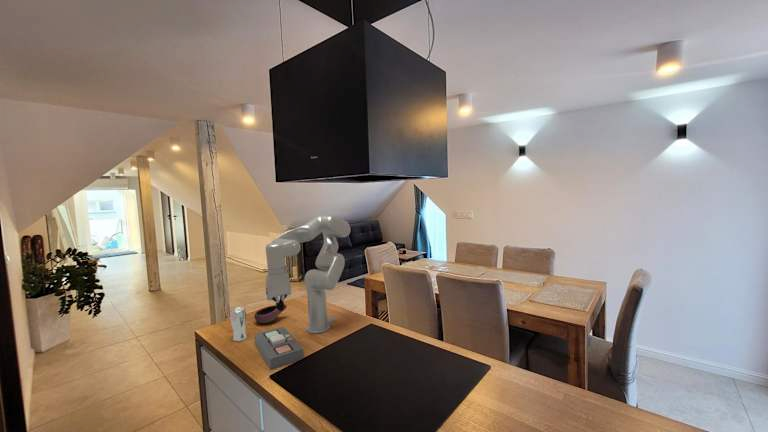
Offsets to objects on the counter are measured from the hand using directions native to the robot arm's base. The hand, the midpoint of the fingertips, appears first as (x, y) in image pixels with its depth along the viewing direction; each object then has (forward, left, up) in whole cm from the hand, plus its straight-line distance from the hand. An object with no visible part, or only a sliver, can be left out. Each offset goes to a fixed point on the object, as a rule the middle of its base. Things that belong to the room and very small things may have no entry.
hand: (280, 309), depth 143 cm
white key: (+2, -2, -17) cm, 17 cm away
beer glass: (+14, -26, -20) cm, 35 cm away
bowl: (-4, -39, -20) cm, 44 cm away
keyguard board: (+2, -2, -20) cm, 20 cm away
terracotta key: (+2, +7, -18) cm, 19 cm away
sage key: (+2, -11, -18) cm, 21 cm away
